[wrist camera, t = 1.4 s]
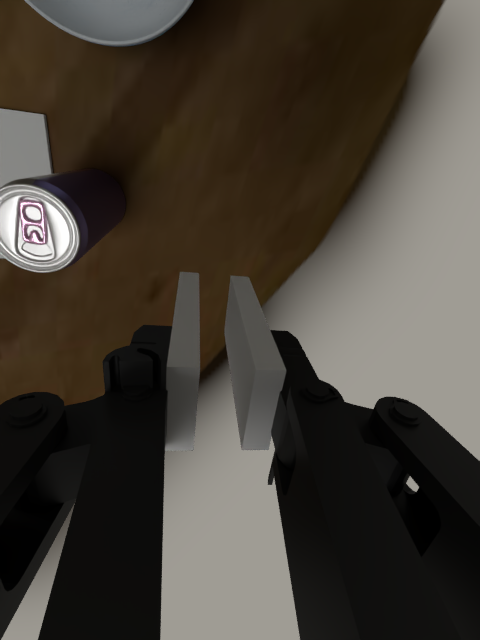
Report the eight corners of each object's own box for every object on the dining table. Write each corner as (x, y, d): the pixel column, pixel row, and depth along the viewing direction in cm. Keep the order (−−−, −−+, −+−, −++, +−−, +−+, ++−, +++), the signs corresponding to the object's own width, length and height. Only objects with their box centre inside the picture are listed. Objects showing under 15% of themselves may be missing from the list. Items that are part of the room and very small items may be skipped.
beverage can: (128, 174, 33) (81, 190, 20) (126, 233, 35) (83, 281, 22) (65, 162, 32) (-30, 170, 18) (67, 223, 34) (-14, 268, 21)
